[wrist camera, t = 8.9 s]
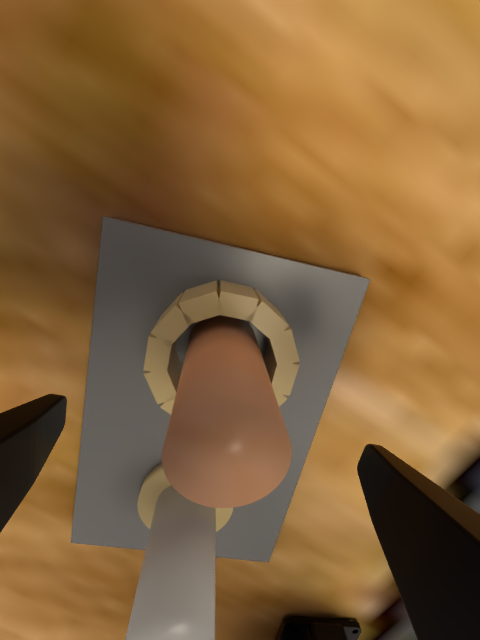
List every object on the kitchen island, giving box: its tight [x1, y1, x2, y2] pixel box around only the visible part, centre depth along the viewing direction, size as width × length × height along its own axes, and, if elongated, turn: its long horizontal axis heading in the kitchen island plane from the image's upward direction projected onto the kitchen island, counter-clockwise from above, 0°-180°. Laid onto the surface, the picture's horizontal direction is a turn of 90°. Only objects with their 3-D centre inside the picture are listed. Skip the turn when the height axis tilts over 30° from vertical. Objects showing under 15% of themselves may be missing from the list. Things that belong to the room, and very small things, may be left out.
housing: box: [71, 217, 370, 640], centre depth 14 cm, size 20×13×8 cm, turn 167°
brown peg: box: [162, 315, 292, 508], centre depth 12 cm, size 4×4×8 cm
